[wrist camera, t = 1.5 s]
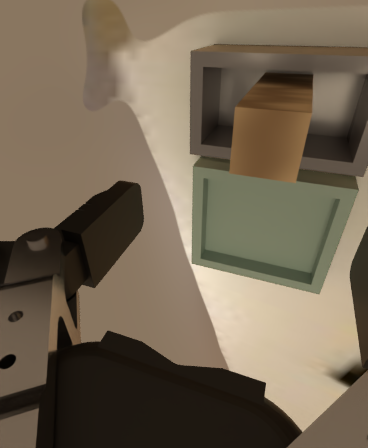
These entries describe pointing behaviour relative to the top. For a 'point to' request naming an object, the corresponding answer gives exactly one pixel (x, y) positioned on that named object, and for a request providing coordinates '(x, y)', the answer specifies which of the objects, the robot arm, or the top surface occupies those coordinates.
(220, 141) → the grey open box
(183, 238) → the top surface
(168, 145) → the top surface
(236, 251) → the green tray
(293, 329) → the top surface
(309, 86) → the oak post
